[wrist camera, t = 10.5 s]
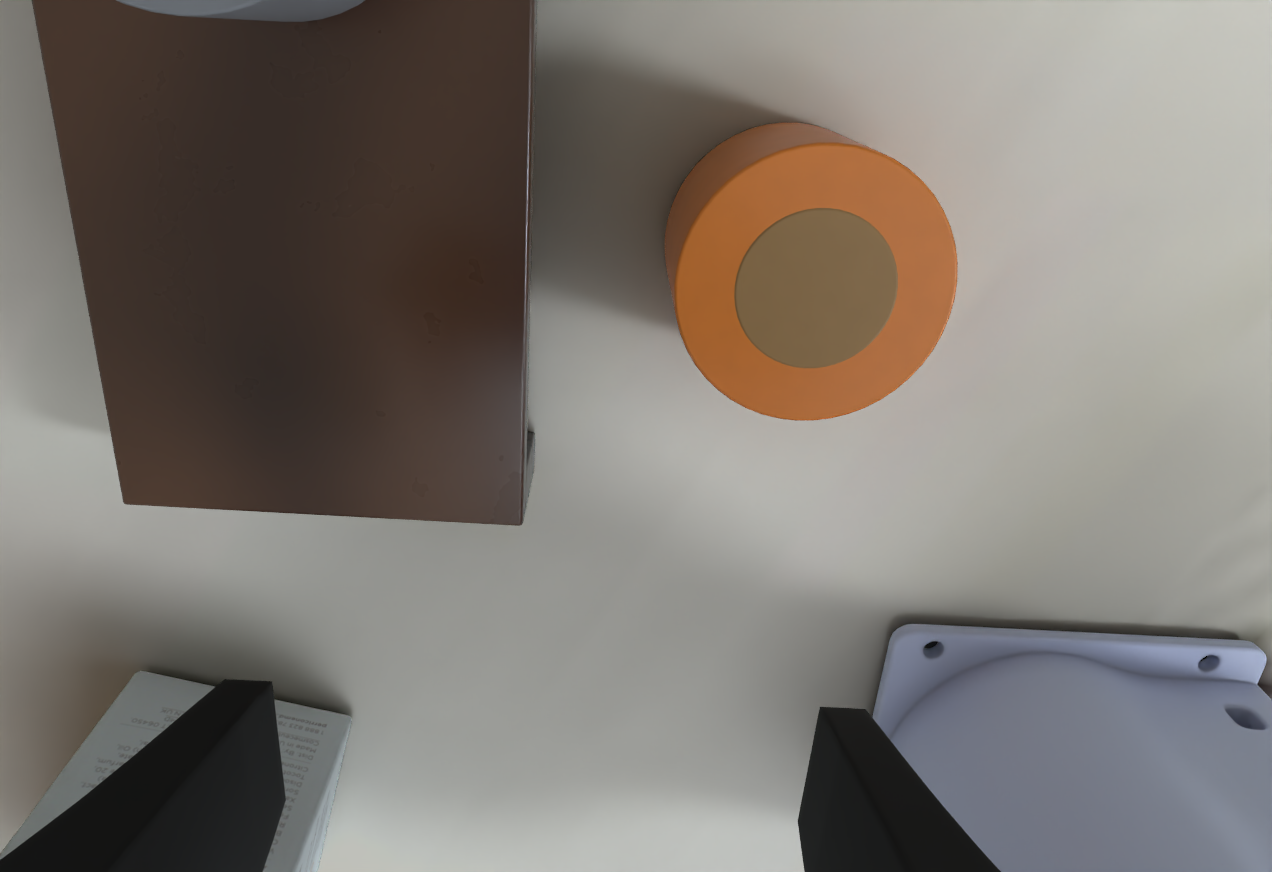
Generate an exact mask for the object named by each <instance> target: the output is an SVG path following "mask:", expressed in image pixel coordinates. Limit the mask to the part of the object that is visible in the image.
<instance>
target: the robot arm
mask: <svg viewBox="0 0 1272 872" xmlns="http://www.w3.org/2000/svg"><path fill="white" fill-rule="evenodd" d="M932 641H938V643H937V645H936V646H934V647H932V648H928V649H926V648H924V647H925V645H926V644H928V643H929V642H932ZM1207 655H1209V656H1208V657H1207V658H1206V659H1204V660H1203V661H1200V660H1201V659H1202V658H1203V657H1205V656H1207ZM1266 660H1267V658H1266V655H1265V653H1264V652H1263V651H1262V650H1261V649H1260V648H1259V647H1258V646H1257V645H1255V644H1254V643H1253V642H1250V641H1246V640H1227V639H1207V638H1187V637H1167V636H1147V635H1128V634H1108V633H1088V632H1068V631H1048V630H1029V629H1009V628H989V627H969V626H949V625H930V624H906V625H904V626H901V627H899V628H898V629H897V630H895V631H894V632H893V634H892V636H891V638H890V641H889V645H888V650H887V654H886V659H885V663H884V668H883V672H882V677H881V681H880V685H879V690H878V694H877V699H876V703H875V708H874V712H873V717H871V715H870V714H869V713H868V712H867V711H866V709H852V708H831V707H820V709H819V714H818V720H817V725H816V730H815V735H814V740H813V745H812V751H811V756H810V761H809V766H808V771H807V776H806V782H805V787H804V792H803V797H802V802H801V807H800V813H799V818H798V826H799V833H800V841H801V848H802V856H803V863H804V870H805V872H1272V700H1271V699H1270V698H1269V697H1268V695H1267V694H1266V693H1265V692H1264V691H1263V690H1262V689H1261V688H1260V687H1259V686H1258V685H1257V683H1258V681H1259V679H1260V676H1261V674H1262V672H1263V670H1264V667H1265V665H1266ZM285 801H286V796H285V788H284V779H283V771H282V762H281V753H280V745H279V736H278V728H277V719H276V711H275V702H274V694H273V685H272V682H270V681H249V680H227V679H225V680H223V681H222V682H221V683H220V684H218V685H217V686H216V687H215V688H214V689H212V690H211V691H210V692H209V693H208V694H206V695H205V696H204V697H203V698H201V699H200V700H199V701H198V702H197V703H195V704H194V705H193V706H192V707H191V708H190V709H188V710H187V711H186V712H185V713H184V714H182V715H181V716H180V717H179V718H178V719H177V720H175V721H174V722H173V723H172V724H171V725H169V726H168V727H167V728H166V729H165V730H164V731H162V732H161V733H160V734H159V735H158V736H157V737H155V738H154V739H153V740H152V741H151V742H149V743H148V744H147V745H146V746H145V747H143V748H142V749H141V750H140V751H139V752H138V753H136V754H135V755H134V756H133V757H132V758H130V759H129V760H128V761H127V762H125V763H124V764H123V765H122V766H121V767H119V768H118V769H117V770H116V771H114V772H113V773H112V774H111V775H109V776H108V777H107V778H106V779H105V780H103V781H102V782H101V783H100V784H98V785H97V786H96V787H95V788H94V789H92V790H91V791H90V792H89V793H87V794H86V795H85V796H84V797H82V798H81V799H80V800H79V801H77V802H76V803H75V804H73V805H72V806H71V807H70V808H68V809H67V810H66V811H64V812H63V813H62V814H60V815H59V816H58V817H56V818H55V819H54V820H52V821H51V822H50V823H48V824H47V825H46V826H44V827H43V828H42V829H40V830H39V831H38V832H37V833H35V834H34V835H33V836H31V837H30V838H29V839H27V840H26V841H25V842H23V843H22V844H21V845H19V846H18V847H17V848H15V849H14V850H13V851H11V852H10V853H9V854H7V855H6V856H5V857H3V858H2V859H0V872H263V869H264V866H265V863H266V860H267V857H268V855H269V852H270V849H271V846H272V843H273V840H274V836H275V833H276V830H277V827H278V824H279V821H280V817H281V814H282V811H283V808H284V805H285Z"/></svg>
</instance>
